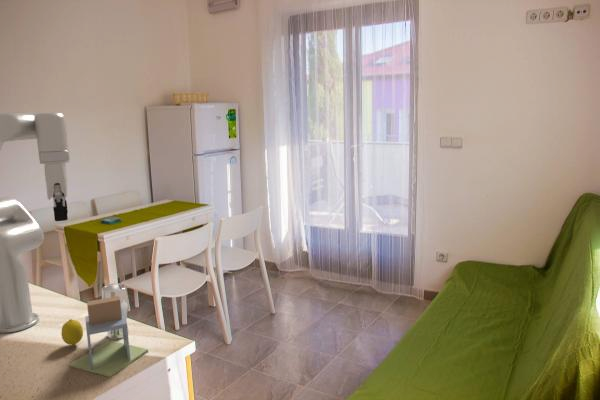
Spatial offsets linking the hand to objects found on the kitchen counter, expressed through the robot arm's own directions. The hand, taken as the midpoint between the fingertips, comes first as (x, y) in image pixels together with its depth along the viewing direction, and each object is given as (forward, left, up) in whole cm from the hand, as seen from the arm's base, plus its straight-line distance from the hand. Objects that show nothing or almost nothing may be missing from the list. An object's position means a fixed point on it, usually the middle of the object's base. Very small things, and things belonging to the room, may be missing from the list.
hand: (61, 217), depth 138 cm
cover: (+20, -6, -36) cm, 42 cm away
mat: (+21, -6, -36) cm, 42 cm away
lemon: (+5, -5, -36) cm, 37 cm away
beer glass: (+12, +5, -36) cm, 39 cm away
